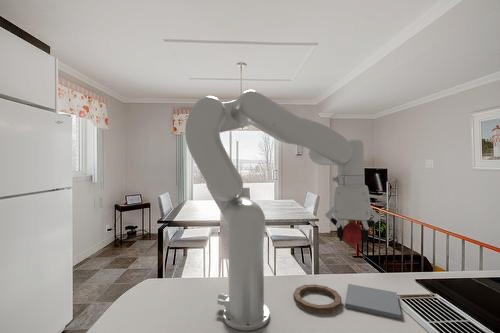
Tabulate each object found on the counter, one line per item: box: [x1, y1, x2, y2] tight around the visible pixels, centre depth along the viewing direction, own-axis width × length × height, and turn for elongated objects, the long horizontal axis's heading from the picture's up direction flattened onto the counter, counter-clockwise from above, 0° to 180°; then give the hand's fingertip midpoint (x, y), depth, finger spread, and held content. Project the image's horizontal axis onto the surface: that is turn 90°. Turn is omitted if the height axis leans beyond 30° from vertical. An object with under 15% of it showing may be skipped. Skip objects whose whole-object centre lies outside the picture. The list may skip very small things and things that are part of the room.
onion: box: [342, 220, 363, 247], centre depth 77 cm, size 6×6×8 cm
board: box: [344, 283, 402, 320], centre depth 76 cm, size 14×13×1 cm
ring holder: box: [292, 283, 342, 315], centre depth 77 cm, size 14×14×2 cm
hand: (352, 240), depth 77 cm, fingers closed on onion, 5 cm apart
